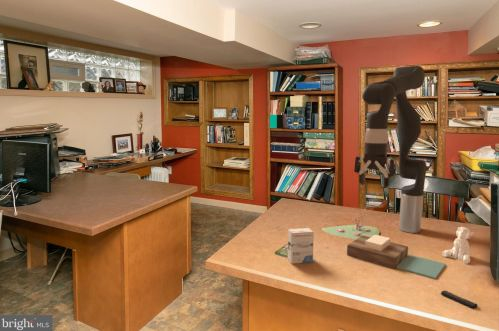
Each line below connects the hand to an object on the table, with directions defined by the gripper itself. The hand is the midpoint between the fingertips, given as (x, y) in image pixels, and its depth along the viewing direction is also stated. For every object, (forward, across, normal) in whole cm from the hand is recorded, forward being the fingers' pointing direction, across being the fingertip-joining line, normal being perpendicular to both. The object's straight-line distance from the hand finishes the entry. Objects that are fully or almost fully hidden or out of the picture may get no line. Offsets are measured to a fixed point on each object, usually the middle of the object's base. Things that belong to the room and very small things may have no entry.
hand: (373, 186), depth 124 cm
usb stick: (+29, -31, +11) cm, 44 cm away
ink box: (+28, +20, +18) cm, 39 cm away
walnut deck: (+28, -1, -5) cm, 29 cm away
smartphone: (+29, +28, +12) cm, 41 cm away
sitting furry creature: (+29, -25, -24) cm, 45 cm away
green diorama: (+29, +19, -24) cm, 42 cm away
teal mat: (+28, -16, -6) cm, 33 cm away
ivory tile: (+24, -1, -5) cm, 25 cm away
